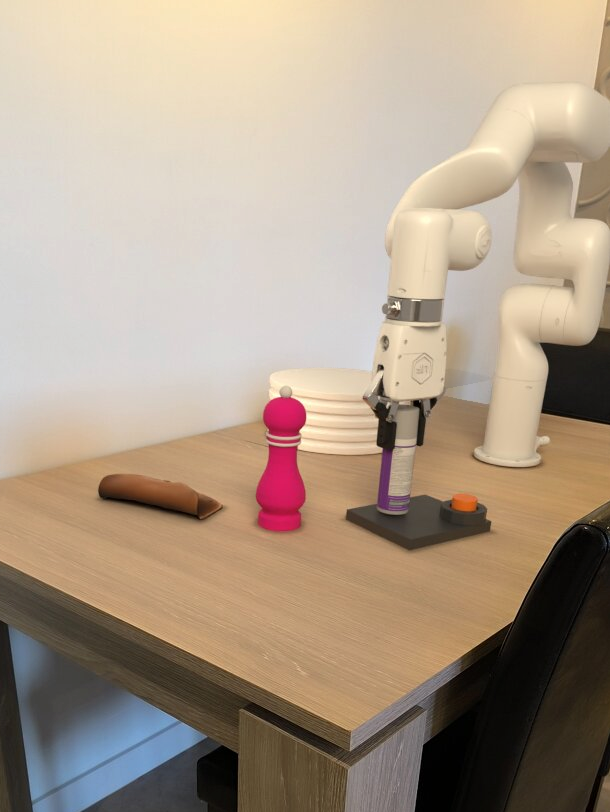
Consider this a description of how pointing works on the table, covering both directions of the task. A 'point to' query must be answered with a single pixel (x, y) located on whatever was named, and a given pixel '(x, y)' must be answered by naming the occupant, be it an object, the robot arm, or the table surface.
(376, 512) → the dark grey flat block
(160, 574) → the table surface
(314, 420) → the plate stack
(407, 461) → the container
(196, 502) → the sunglasses case
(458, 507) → the button
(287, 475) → the pepper mill
